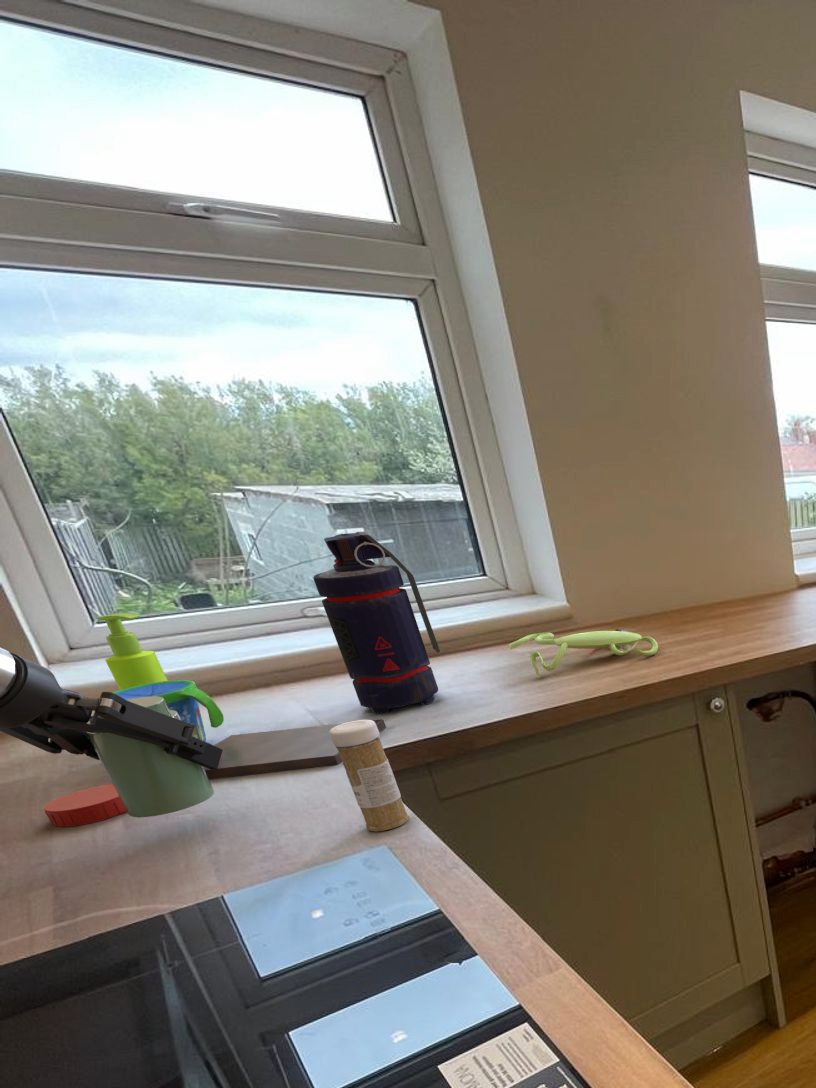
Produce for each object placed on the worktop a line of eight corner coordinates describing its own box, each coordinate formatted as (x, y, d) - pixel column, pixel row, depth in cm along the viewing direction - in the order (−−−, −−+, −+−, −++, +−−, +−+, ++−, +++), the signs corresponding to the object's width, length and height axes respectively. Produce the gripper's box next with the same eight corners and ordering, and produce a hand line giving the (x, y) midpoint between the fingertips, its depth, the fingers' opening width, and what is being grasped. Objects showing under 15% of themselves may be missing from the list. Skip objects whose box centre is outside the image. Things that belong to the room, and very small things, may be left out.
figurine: (513, 660, 171) (505, 634, 169) (645, 637, 184) (640, 613, 182) (520, 681, 157) (512, 653, 155) (663, 655, 170) (657, 629, 168)
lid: (106, 823, 106) (98, 807, 105) (32, 830, 105) (23, 814, 104) (158, 794, 114) (151, 779, 113) (90, 801, 113) (82, 786, 112)
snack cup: (253, 734, 135) (228, 676, 131) (198, 760, 125) (169, 698, 121) (157, 740, 134) (129, 681, 130) (95, 766, 125) (62, 704, 121)
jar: (110, 821, 98) (57, 721, 92) (157, 793, 105) (110, 698, 100) (188, 812, 99) (140, 713, 94) (229, 785, 106) (186, 691, 101)
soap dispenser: (171, 734, 137) (115, 618, 129) (131, 735, 137) (73, 619, 129) (203, 721, 142) (151, 609, 134) (165, 722, 143) (111, 611, 135)
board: (165, 784, 117) (161, 774, 116) (234, 743, 131) (231, 735, 131) (337, 764, 121) (334, 755, 121) (386, 727, 136) (383, 718, 135)
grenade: (366, 719, 140) (300, 542, 128) (359, 703, 148) (296, 536, 136) (458, 699, 148) (404, 531, 136) (446, 685, 156) (395, 526, 144)
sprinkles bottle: (364, 824, 102) (325, 725, 97) (407, 812, 105) (371, 715, 100) (370, 836, 99) (330, 735, 94) (414, 823, 102) (377, 724, 97)
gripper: (-149, 721, 80) (83, 795, 101) (77, 708, 82) (259, 783, 103) (-117, 655, 83) (102, 740, 104) (101, 643, 84) (274, 729, 105)
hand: (180, 761), depth 103 cm, fingers closed on jar, 8 cm apart
